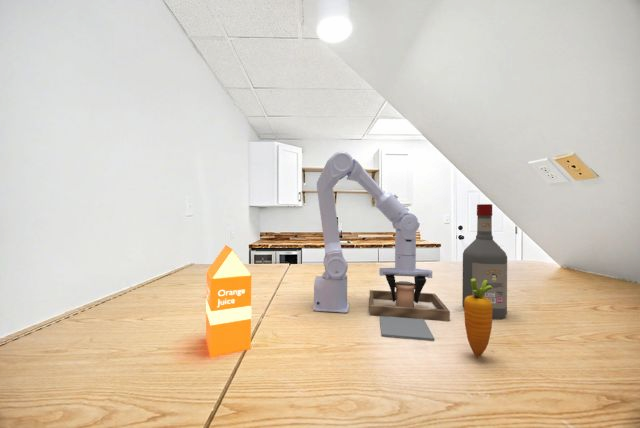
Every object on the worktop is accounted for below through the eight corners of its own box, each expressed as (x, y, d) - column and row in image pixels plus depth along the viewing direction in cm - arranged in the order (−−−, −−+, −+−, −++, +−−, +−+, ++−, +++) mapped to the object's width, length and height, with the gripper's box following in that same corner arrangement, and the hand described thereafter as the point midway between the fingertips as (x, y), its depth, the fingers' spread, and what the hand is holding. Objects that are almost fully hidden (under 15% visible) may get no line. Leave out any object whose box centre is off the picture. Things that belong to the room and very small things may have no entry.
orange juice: (209, 357, 51) (210, 250, 51) (205, 338, 59) (206, 245, 59) (251, 348, 55) (252, 248, 55) (242, 331, 62) (243, 243, 62)
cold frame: (369, 315, 73) (369, 305, 73) (369, 297, 89) (369, 289, 89) (449, 321, 70) (449, 311, 70) (434, 301, 86) (434, 293, 86)
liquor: (511, 319, 71) (512, 204, 71) (475, 319, 71) (476, 203, 71) (491, 307, 80) (491, 205, 80) (459, 307, 80) (459, 205, 81)
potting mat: (381, 336, 61) (381, 334, 61) (379, 318, 71) (379, 316, 71) (434, 340, 59) (434, 338, 59) (424, 321, 69) (424, 319, 69)
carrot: (484, 351, 54) (485, 275, 54) (498, 365, 49) (499, 281, 49) (458, 349, 55) (459, 274, 55) (469, 363, 50) (470, 280, 50)
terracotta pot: (395, 310, 77) (395, 285, 77) (393, 304, 83) (393, 280, 83) (417, 312, 76) (417, 286, 76) (413, 305, 82) (413, 281, 82)
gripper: (428, 253, 82) (428, 298, 82) (379, 251, 85) (378, 295, 85) (434, 256, 75) (433, 306, 75) (380, 254, 78) (379, 302, 78)
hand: (404, 301), depth 79 cm, fingers closed on terracotta pot, 6 cm apart
